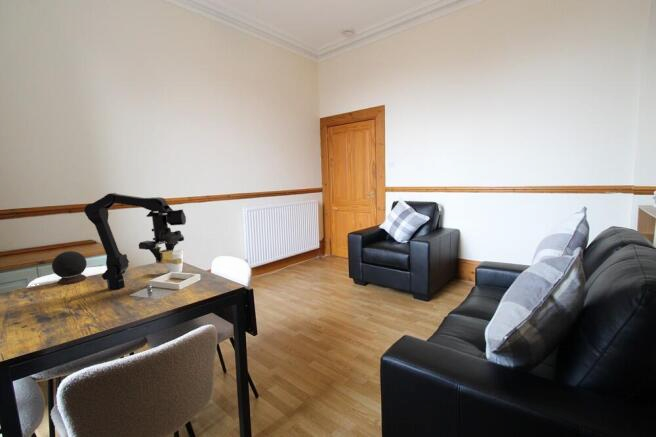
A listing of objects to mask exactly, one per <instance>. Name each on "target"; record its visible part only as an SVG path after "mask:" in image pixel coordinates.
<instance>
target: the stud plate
mask: <svg viewBox="0 0 656 437" xmlns="http://www.w3.org/2000/svg"><path fill="white" fill-rule="evenodd" d="M174 292H175V289H166V288H157V287H152V286H150V285H147V286H146V287H145V288H143V289H141V290H137V291H135V292H134V293H131V294H129V296H131V297H140V298H147V299H154V300H159V299H161V298H163V297H166V296H167V295H168V296H169V295H170V294H173V293H174Z"/></svg>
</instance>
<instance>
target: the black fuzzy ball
mask: <svg viewBox="0 0 656 437" xmlns="http://www.w3.org/2000/svg"><path fill="white" fill-rule="evenodd" d="M87 265H88V264H87V259H86V257H85V256H84V255H83V254H82V253H80V252H78V251H73V250H69V251H64V252H61V253H59V254H58V255H56V256H55V257H54V259H53V260H52V263H51V269H52V271H53V273H54V274H55V275H56V276H57V277H60V278H59V279H58V280H57V285H58V286H68V285H74V284H77V283H81V282H84V281H86V280H87V279H86V278H87V276H86V275H85V274H83V272H84V271H85V270H86V268H87ZM85 279H86V280H85Z"/></svg>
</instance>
